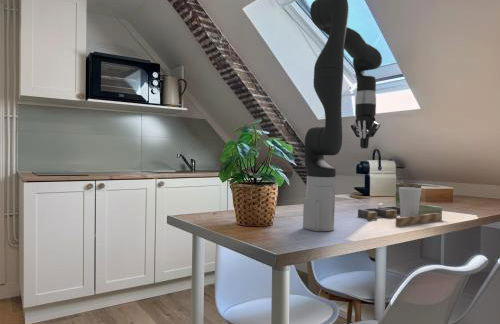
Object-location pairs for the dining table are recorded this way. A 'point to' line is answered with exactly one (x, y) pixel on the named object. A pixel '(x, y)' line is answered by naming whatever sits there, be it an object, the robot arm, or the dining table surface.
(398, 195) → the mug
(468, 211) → the dining table surface
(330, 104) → the robot arm
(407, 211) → the cup
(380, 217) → the mats
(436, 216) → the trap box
